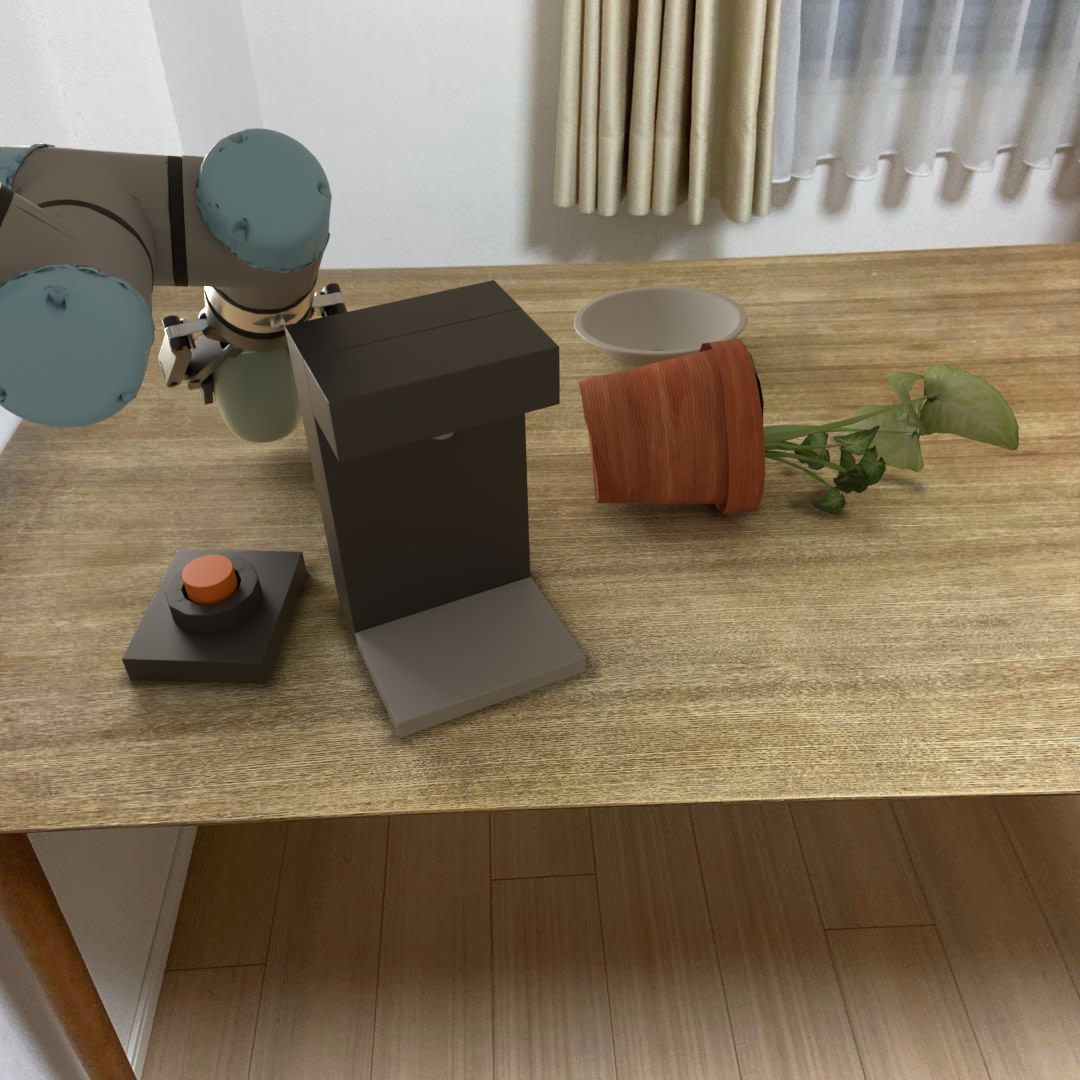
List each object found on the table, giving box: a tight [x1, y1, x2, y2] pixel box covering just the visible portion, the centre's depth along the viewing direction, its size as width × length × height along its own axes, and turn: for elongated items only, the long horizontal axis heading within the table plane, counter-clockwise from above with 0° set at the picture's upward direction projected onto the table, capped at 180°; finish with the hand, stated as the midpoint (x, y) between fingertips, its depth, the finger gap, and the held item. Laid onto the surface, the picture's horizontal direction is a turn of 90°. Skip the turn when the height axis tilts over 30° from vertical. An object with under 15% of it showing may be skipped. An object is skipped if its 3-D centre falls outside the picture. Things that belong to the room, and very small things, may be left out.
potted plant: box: [578, 338, 1020, 515], centre depth 84 cm, size 16×15×35 cm
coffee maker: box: [284, 279, 587, 739], centre depth 67 cm, size 14×14×24 cm
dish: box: [573, 285, 748, 367], centre depth 104 cm, size 18×14×5 cm
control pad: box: [121, 548, 308, 685], centre depth 76 cm, size 10×12×4 cm
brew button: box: [182, 555, 238, 604], centre depth 74 cm, size 4×4×2 cm
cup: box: [210, 346, 303, 444], centre depth 90 cm, size 8×8×10 cm
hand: (251, 379), depth 93 cm, fingers closed on cup, 8 cm apart
